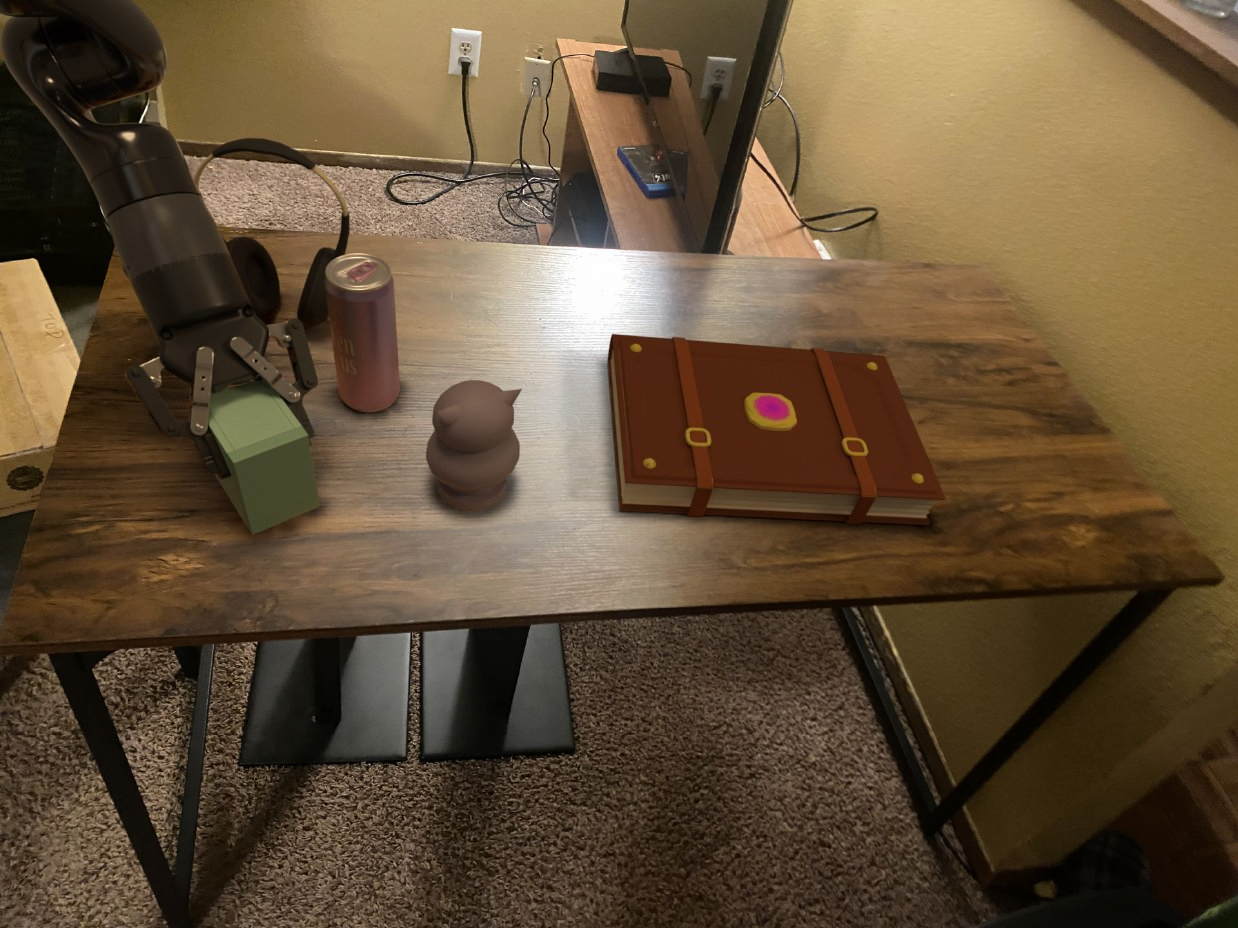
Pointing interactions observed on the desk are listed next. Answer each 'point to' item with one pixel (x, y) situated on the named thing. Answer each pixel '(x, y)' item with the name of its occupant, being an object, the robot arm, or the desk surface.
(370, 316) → the beverage can
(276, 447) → the green open-top box
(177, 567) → the desk surface
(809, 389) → the book
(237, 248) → the headphones
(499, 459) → the cat figurine
